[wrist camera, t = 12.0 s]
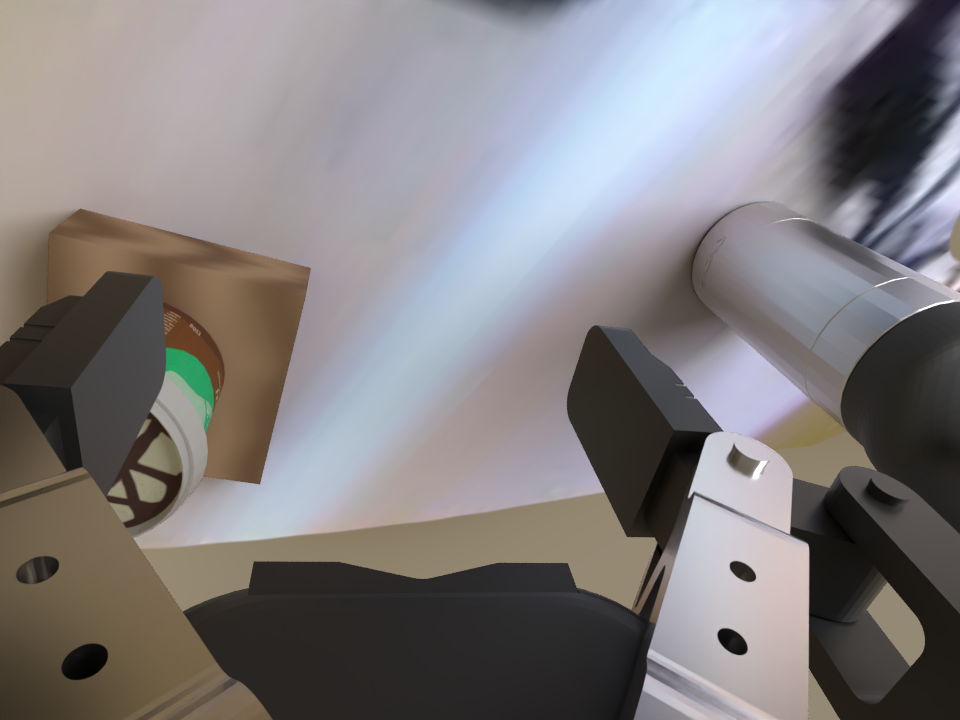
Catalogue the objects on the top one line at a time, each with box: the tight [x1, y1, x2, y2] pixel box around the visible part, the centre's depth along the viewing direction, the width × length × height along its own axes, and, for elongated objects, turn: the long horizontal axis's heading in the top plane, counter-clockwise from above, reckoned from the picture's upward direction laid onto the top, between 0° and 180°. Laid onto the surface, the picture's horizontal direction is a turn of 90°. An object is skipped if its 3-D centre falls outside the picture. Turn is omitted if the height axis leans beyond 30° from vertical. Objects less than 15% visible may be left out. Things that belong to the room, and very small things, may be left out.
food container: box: [106, 302, 225, 538], centre depth 35 cm, size 12×6×10 cm, turn 159°
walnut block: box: [47, 209, 310, 484], centre depth 41 cm, size 14×16×5 cm
